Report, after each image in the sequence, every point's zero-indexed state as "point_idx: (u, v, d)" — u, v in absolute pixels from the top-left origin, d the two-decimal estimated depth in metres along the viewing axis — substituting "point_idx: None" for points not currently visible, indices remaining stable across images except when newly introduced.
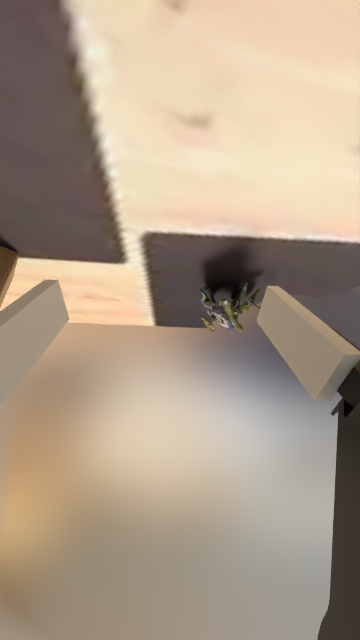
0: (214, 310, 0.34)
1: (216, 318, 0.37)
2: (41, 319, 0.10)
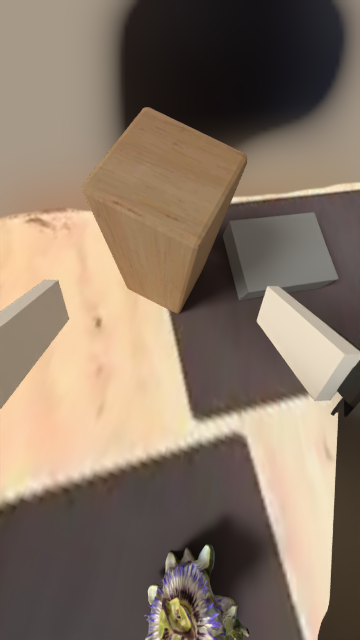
0: (214, 607, 0.20)
1: None
2: (41, 319, 0.10)
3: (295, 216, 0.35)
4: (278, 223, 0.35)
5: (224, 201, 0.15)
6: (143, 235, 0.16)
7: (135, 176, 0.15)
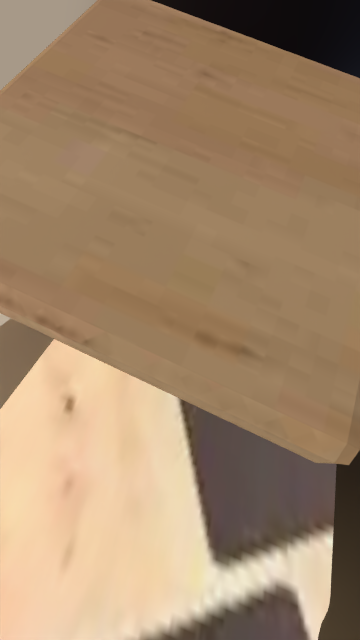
0: None
1: None
2: None
3: None
4: None
5: None
6: None
7: (71, 181, 0.04)
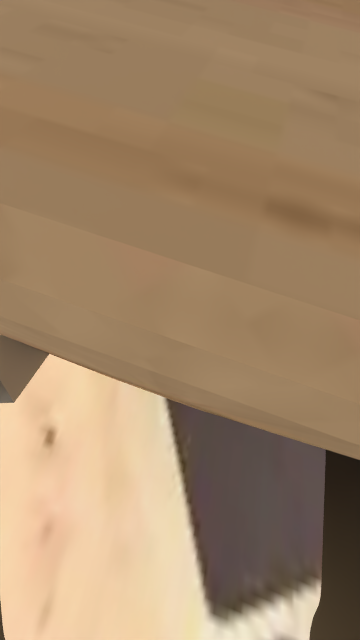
0: None
1: None
2: None
3: None
4: None
5: None
6: (86, 359, 0.03)
7: None
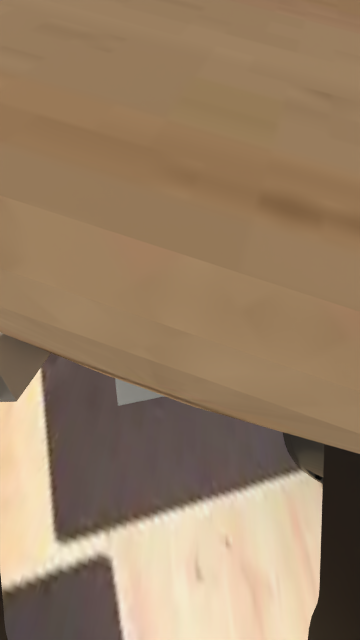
0: None
1: None
2: None
3: None
4: None
5: None
6: (87, 354, 0.03)
7: None
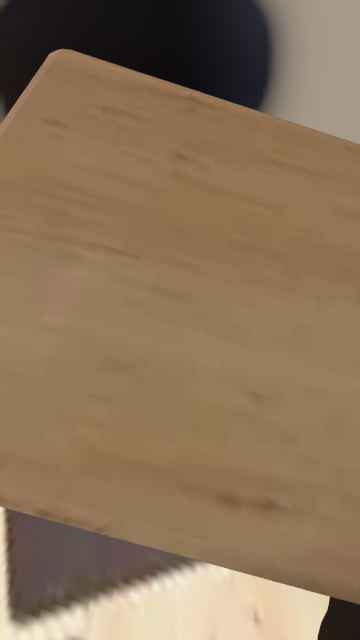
0: None
1: None
2: None
3: None
4: None
5: None
6: None
7: (50, 325, 0.03)
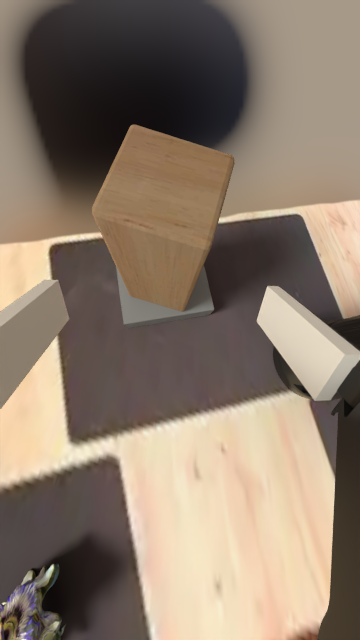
0: (34, 623, 0.23)
1: None
2: (41, 319, 0.10)
3: None
4: None
5: (222, 202, 0.17)
6: (154, 245, 0.17)
7: (138, 192, 0.16)
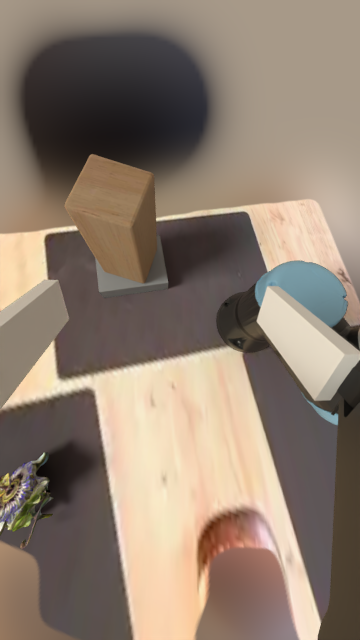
0: (30, 478, 0.34)
1: (10, 492, 0.33)
2: (41, 319, 0.10)
3: None
4: None
5: (143, 201, 0.29)
6: (103, 227, 0.29)
7: (92, 195, 0.28)
